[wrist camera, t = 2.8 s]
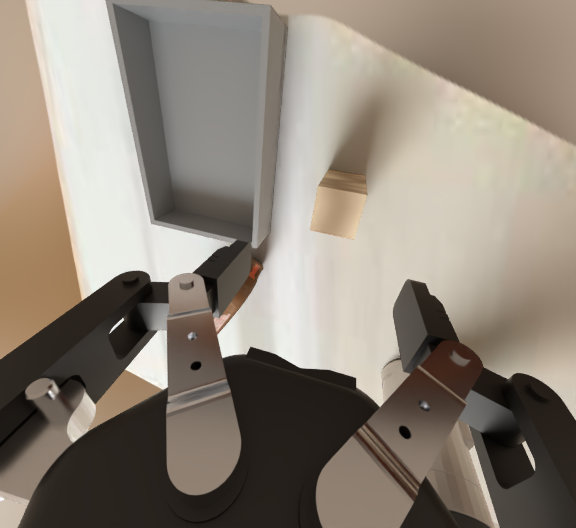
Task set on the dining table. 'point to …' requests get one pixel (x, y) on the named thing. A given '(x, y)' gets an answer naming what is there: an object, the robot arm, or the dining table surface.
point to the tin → (239, 296)
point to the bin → (203, 110)
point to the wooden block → (339, 204)
